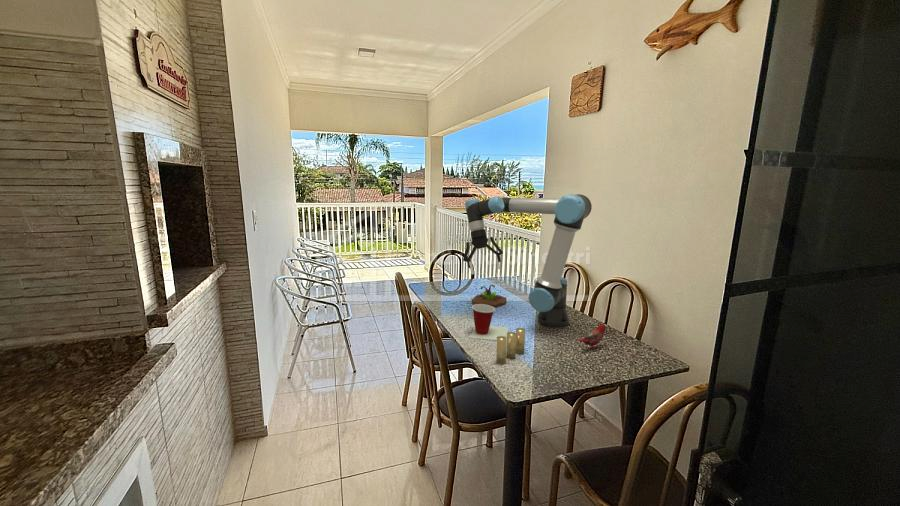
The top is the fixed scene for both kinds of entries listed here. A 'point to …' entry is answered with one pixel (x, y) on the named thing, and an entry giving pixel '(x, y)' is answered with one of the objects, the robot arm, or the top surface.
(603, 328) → the decorative bird figurine
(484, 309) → the plastic cup
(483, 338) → the mat
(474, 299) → the plant
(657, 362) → the top surface
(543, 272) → the robot arm
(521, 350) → the spacer posts
